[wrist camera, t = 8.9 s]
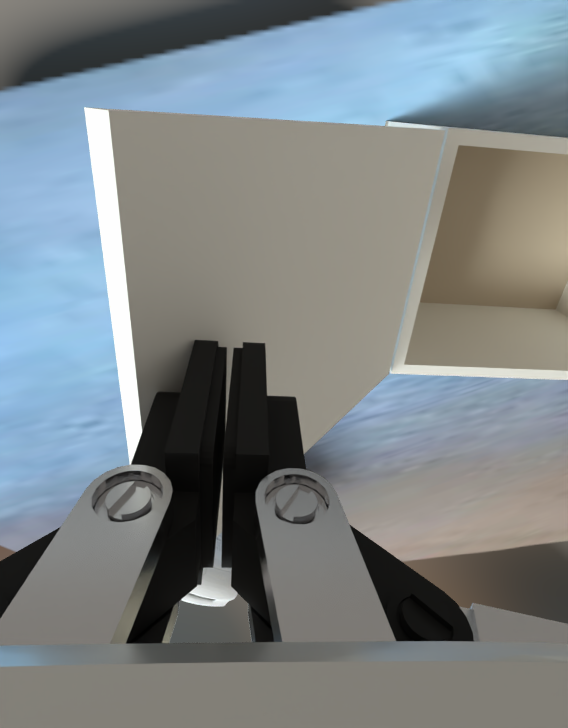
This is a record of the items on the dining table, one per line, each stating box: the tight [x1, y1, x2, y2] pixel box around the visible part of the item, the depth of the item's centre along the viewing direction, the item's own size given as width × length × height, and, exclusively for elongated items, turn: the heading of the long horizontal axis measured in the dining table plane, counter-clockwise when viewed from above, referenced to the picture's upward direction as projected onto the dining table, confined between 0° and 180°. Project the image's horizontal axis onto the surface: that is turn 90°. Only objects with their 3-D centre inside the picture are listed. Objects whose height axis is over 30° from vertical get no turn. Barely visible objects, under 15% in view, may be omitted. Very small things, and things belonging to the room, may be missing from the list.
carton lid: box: [84, 108, 445, 537], centre depth 15 cm, size 16×12×1 cm
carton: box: [385, 121, 568, 380], centre depth 26 cm, size 16×12×10 cm
